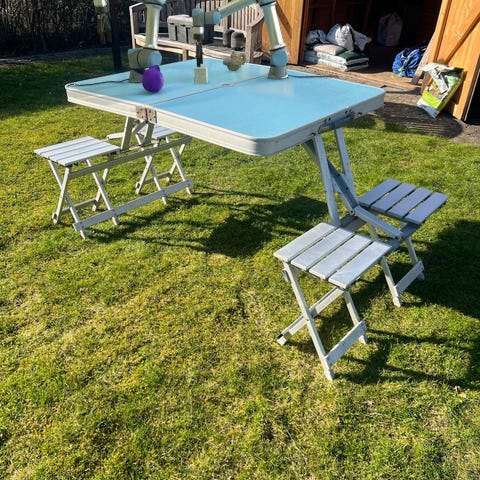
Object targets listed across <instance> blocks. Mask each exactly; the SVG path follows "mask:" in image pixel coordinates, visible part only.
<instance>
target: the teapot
mask: <svg viewBox="0 0 480 480" xmlns="http://www.w3.org/2000/svg"><path fill="white" fill-rule="evenodd" d="M241 58H242V60H241ZM246 62H247V56H246V54H245V53H244V52H241V53H239V54H238V55H237V53H236V52H235V50H233V51H231V54H230V57H225V58H224V59H222V65H224V66H226V68H227V69H228V71H230V72H237V71H238V70H239V69H241V68H242V66H243V65H245V64H246Z"/></svg>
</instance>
